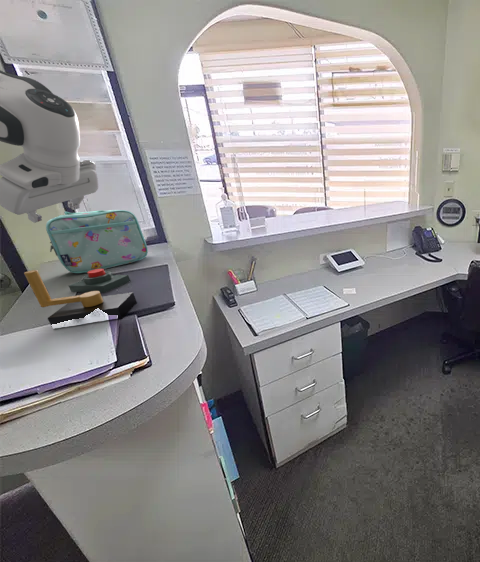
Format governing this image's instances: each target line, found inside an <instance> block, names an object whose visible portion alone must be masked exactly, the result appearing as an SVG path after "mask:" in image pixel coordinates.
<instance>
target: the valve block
mask: <svg viewBox="0 0 480 562" xmlns="http://www.w3.org/2000/svg"><path fill="white" fill-rule="evenodd" d="M101 296H102V295H101ZM102 299H103V302H102V303H101V304H99V305H96V306H92V307H83V305H82V303H81V302H74V303H67V304H64V305H63V306H62V307H61V308H59V309H57V311H55V312H53V313H52V314H51V315H50V316H48V317H47V320H48V322H49V325H50V326H51V325H52V324H57V323H60V322H64V321H68V320H72V319H79V318H84V317H85V316H86V315H88V314H90V313H91V312H93V311H94V310H95V309H97V308H99V309H100V310H102V311H103V312H105V313H107V314H108V315H118V320H123V319H124V318H125V316H127V314H128V313H129V312H130V311H131V310H132V309H133V307H134V306H135V305H136V304H137V303H138V301H137V299H136V296H135V293H134V292H133V291H132V292H125V293H117V294H109V295H103V296H102Z"/></svg>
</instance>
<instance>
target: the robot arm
mask: <svg viewBox="0 0 480 562" xmlns="http://www.w3.org/2000/svg"><path fill="white" fill-rule="evenodd" d="M0 142H2V143H4V144H8V145H11V146H18V147H22V149H23V152H22V153H20V154H19V155H18V156H17V155H16V157H14V158H12V159H10V160H8V161H6V162H3V163H1V164H0V176H2V177H0V206H1V207H2V208H3V209H5V210H7V211H8V212H10V213H13V214H14V215H17V216H20V215H24V214H27V219H28V220H29V221H30V222H31V223H34V224H35V223H38V222H41V221H43V219H42V218H43V217H42V215H41V214H39V213H37V211H38V210H41V209H44V208H47V207H51V206H54V205H57V204H60V203H64V202H67V208H69V209H70V210H72V211H76V210H78V209H80V204H81V203H82V202H83V201H84V199H85V196H88V195H91V194H94V193H96V192H97V191H98V190H99V178H98V174H97V172H96V170H97V169H96V168H97V165H96V164H95V162H94V161H92V160H89V159H83V160H80V156H79V152H78V150H79V148H80V147H81V146H80V145H81V133H80V122H79V118H78V115H77V113H76V110H75V109H74V108H73V106H72V105H71V104H70V103H69V102H67V100H66V99H64V98H62V97H60V96H58V95H57V94H55V93H53V92H52V91H51V90H50V88H48V87H47V86H45V85H44V84H42V83H41V82H39V81H38V80H36V79H33V78H30V77H27V76H23V75H17V74H12V73H9V72H5V71H4V70H1V69H0Z"/></svg>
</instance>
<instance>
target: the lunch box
mask: <svg viewBox="0 0 480 562" xmlns="http://www.w3.org/2000/svg"><path fill="white" fill-rule="evenodd" d="M45 230H46V233H47V235H48V238H49V244H50V247H49V253H52V251H54V254H55V256H56V257H57V259H58V260H59V263H60V264H61V265H62V266H63V267H64V268H65V269H66V270H67V271H68V272H70V273H72V274H85V273H87V272H88V271H91V270H95V269H104V270H106V269H110V268H116V267H119V266H123V265H127V264H131V263H135V262H138V261H141V260H143V259H145V258H146V257H147V256H148V254H149V249H148V245H147V242H146V240H145V235H144V234H143V231H142V228H141V225H140V222H139V220H138V218H137V216H136V215H135V214H134V213H133V212H131V211H129V210H126V209H109V210H108V209H107V210H94V211H79V212H69V211H64V214H60V215H58V216H55V217H52V218H50V219H48V220H47V221H46V224H45Z"/></svg>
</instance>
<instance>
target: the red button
mask: <svg viewBox="0 0 480 562" xmlns="http://www.w3.org/2000/svg"><path fill="white" fill-rule="evenodd" d="M105 271H106V270H105V269H95V270H91V271H88V272H86V273H87V275H88V276H89V278H92V277H98V276H102V275H105Z"/></svg>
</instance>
